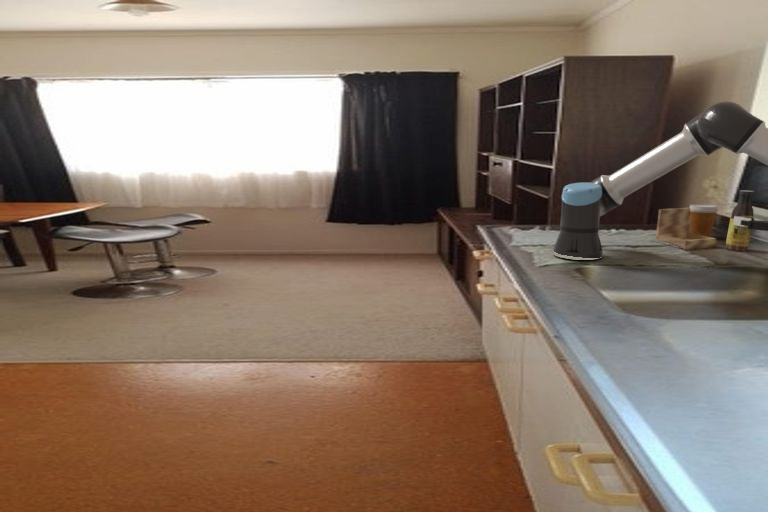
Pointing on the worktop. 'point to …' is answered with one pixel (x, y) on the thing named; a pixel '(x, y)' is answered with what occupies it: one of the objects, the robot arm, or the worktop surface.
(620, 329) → the worktop surface
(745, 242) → the sauce bottle
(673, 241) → the open wooden box
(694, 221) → the glass of beer
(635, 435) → the worktop surface
